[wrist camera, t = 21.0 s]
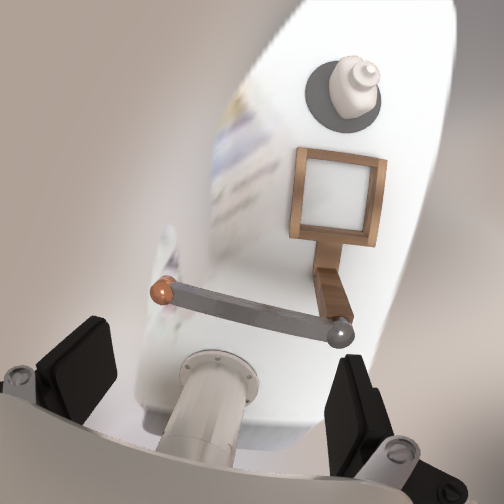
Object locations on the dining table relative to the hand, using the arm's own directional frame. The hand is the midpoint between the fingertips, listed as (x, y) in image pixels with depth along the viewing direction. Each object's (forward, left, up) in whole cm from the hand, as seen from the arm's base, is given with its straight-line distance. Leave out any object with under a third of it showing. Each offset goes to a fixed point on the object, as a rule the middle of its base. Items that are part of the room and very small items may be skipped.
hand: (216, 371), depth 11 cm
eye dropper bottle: (+16, -8, -26) cm, 32 cm away
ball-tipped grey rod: (-5, 0, -14) cm, 15 cm away
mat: (+16, -8, -27) cm, 32 cm away
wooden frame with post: (+1, -8, -27) cm, 28 cm away
